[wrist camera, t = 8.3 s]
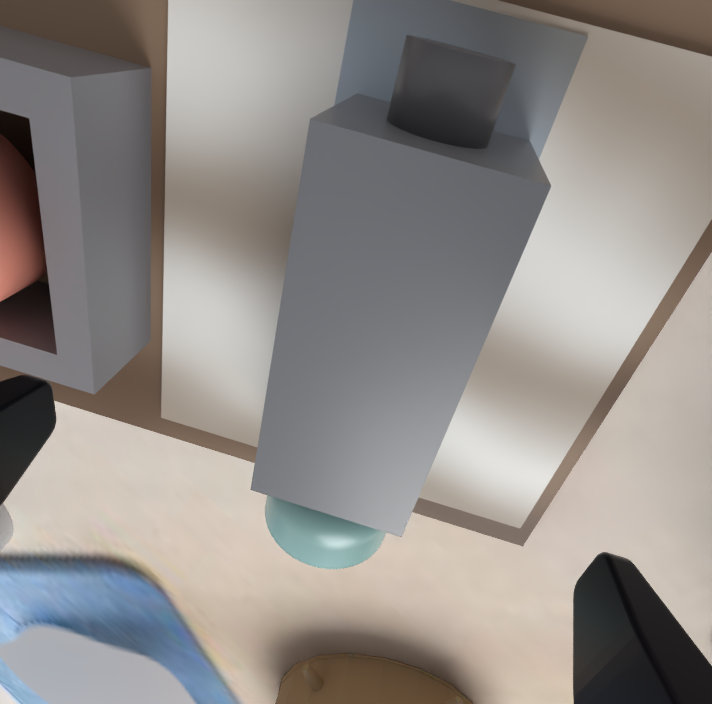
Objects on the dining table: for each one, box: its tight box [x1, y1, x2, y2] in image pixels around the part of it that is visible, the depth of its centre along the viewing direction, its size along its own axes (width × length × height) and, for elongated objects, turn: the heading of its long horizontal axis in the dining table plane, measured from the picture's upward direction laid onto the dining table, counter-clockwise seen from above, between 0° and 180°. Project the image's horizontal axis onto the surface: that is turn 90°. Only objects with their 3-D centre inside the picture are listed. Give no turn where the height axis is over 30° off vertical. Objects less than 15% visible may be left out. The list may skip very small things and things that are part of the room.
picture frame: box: [0, 0, 712, 546], centre depth 15 cm, size 16×22×1 cm
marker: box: [251, 35, 551, 569], centre depth 13 cm, size 13×4×4 cm, turn 167°
